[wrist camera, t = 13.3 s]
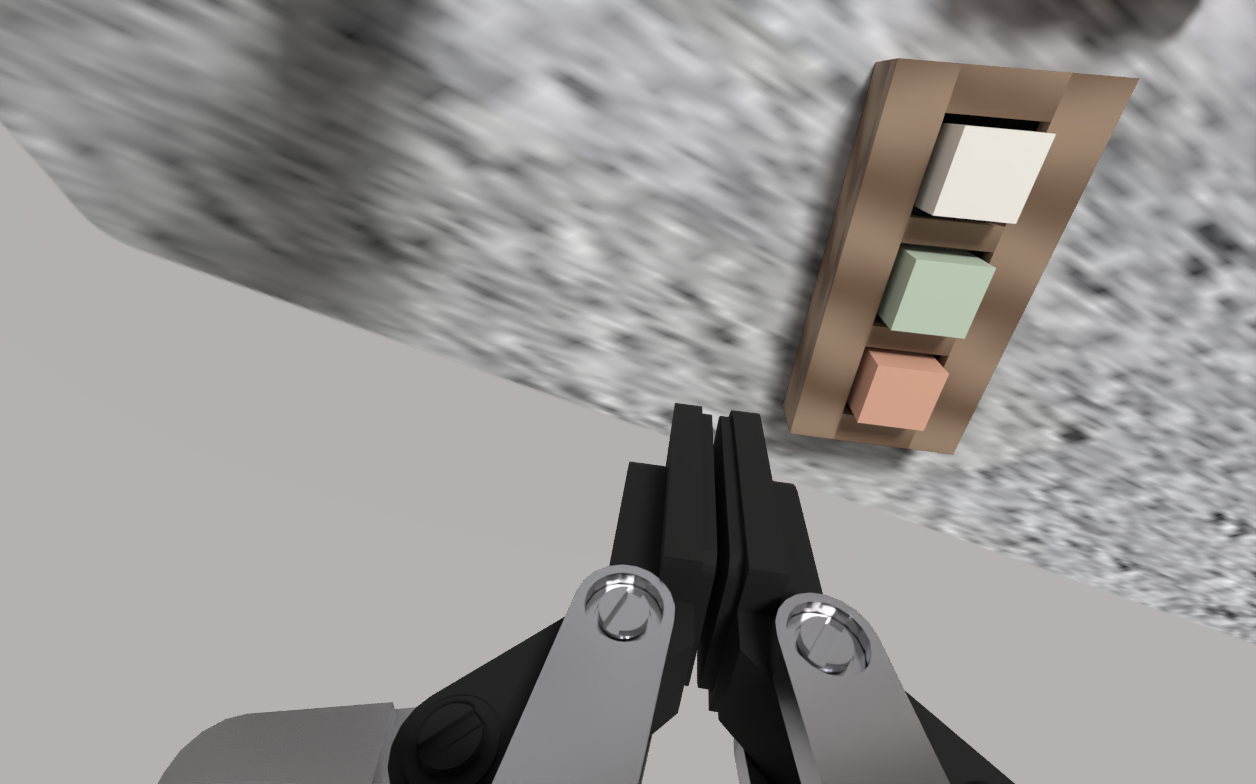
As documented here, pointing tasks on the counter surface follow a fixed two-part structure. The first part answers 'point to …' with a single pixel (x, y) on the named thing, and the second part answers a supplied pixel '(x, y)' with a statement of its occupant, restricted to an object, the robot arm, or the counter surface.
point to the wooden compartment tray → (939, 235)
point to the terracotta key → (896, 388)
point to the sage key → (934, 290)
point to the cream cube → (982, 172)
